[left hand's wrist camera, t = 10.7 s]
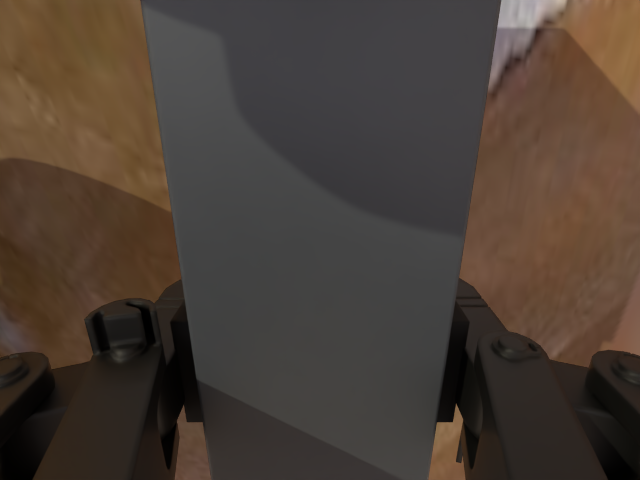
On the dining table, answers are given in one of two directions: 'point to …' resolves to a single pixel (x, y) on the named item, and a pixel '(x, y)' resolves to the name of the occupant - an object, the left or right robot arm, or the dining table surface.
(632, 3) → the dining table surface
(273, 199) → the bar
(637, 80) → the dining table surface
